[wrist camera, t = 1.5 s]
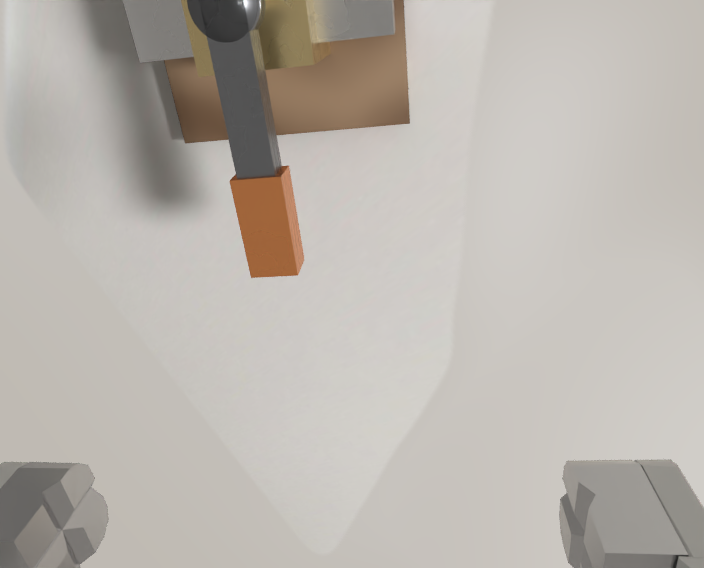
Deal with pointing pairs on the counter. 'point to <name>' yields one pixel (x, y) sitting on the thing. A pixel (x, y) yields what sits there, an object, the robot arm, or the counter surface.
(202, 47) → the valve body
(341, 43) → the base board
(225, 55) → the valve lever
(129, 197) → the counter surface
